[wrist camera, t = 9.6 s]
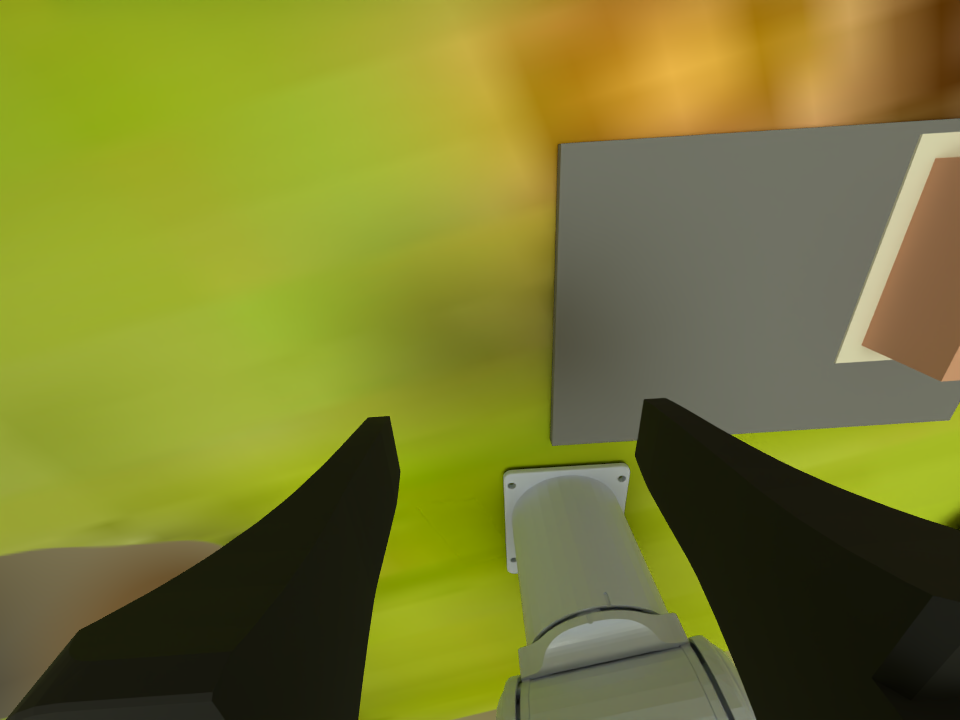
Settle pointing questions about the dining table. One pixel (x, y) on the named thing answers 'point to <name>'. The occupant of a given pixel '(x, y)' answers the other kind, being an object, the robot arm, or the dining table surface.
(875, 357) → the mat
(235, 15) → the dining table surface
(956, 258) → the card box
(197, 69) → the dining table surface
